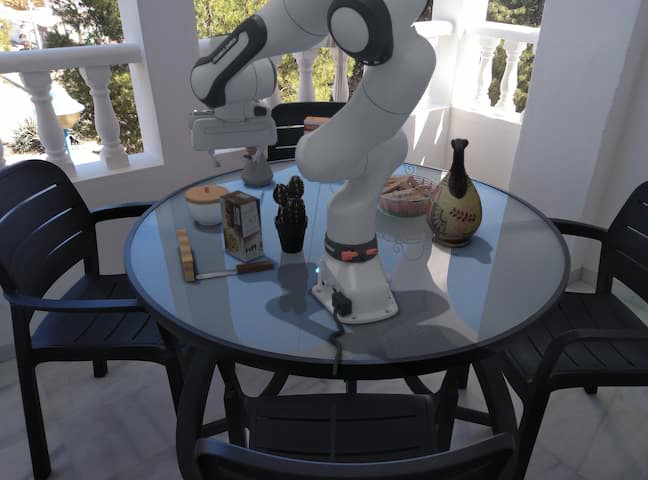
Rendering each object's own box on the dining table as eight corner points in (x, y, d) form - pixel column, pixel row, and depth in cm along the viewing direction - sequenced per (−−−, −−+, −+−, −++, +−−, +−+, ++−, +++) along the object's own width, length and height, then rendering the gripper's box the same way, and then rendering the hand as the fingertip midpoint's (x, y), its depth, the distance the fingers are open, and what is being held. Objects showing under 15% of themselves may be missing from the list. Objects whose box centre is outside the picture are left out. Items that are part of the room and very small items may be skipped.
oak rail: (195, 280, 131) (192, 260, 128) (185, 281, 130) (182, 261, 128) (188, 247, 146) (185, 228, 143) (179, 248, 145) (176, 229, 143)
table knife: (273, 268, 137) (272, 263, 136) (196, 280, 131) (195, 274, 130) (271, 264, 138) (270, 259, 138) (195, 276, 133) (194, 270, 132)
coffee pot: (245, 177, 196) (242, 136, 188) (276, 178, 195) (274, 137, 187) (230, 199, 177) (225, 154, 170) (264, 200, 176) (261, 156, 169)
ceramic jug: (425, 226, 161) (435, 126, 146) (477, 231, 158) (493, 130, 144) (420, 251, 147) (431, 143, 132) (478, 257, 144) (496, 148, 129)
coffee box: (264, 255, 143) (260, 198, 135) (245, 263, 139) (240, 205, 131) (243, 244, 148) (238, 189, 141) (224, 251, 144) (218, 195, 136)
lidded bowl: (206, 209, 169) (202, 176, 164) (239, 217, 164) (236, 183, 159) (179, 224, 159) (174, 189, 154) (213, 233, 154) (210, 197, 149)
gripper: (187, 113, 119) (194, 173, 126) (277, 108, 125) (279, 165, 132) (185, 107, 124) (192, 164, 131) (271, 102, 131) (274, 157, 137)
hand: (236, 164), depth 132 cm, fingers open, 8 cm apart
